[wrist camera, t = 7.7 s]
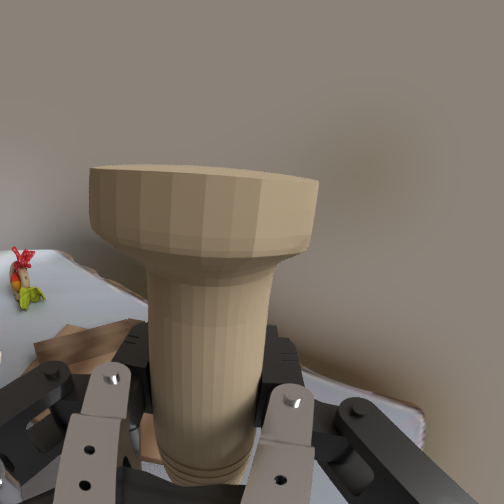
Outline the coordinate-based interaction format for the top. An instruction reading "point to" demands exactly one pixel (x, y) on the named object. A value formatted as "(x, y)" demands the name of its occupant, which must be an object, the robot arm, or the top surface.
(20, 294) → the bird rattle
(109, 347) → the v block
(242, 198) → the handle
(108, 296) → the top surface
